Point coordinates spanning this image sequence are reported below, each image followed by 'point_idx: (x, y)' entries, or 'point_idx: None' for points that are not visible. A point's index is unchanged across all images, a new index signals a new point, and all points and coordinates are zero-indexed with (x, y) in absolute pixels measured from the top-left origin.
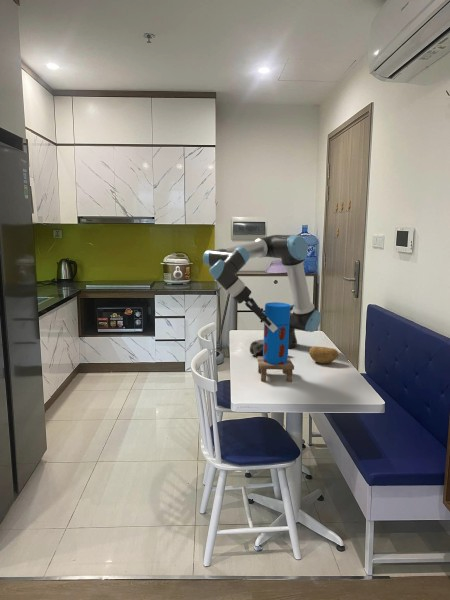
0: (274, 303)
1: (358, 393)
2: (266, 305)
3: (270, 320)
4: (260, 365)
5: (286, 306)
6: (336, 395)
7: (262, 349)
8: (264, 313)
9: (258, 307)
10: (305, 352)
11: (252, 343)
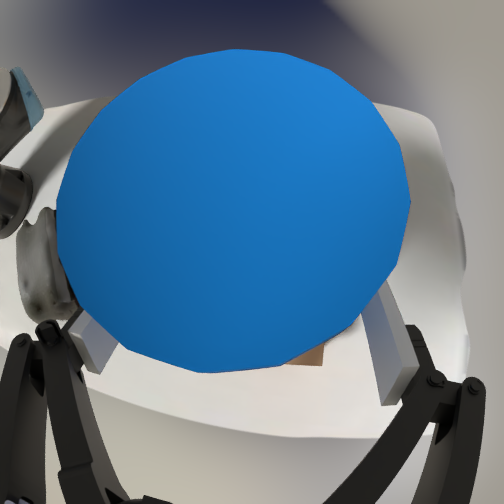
0: (127, 193)
1: (388, 126)
2: (258, 366)
3: (407, 332)
4: (305, 364)
5: (361, 94)
6: (409, 174)
7: (67, 291)
8: (95, 321)
9: (76, 399)
10: (68, 160)
11: (35, 317)
